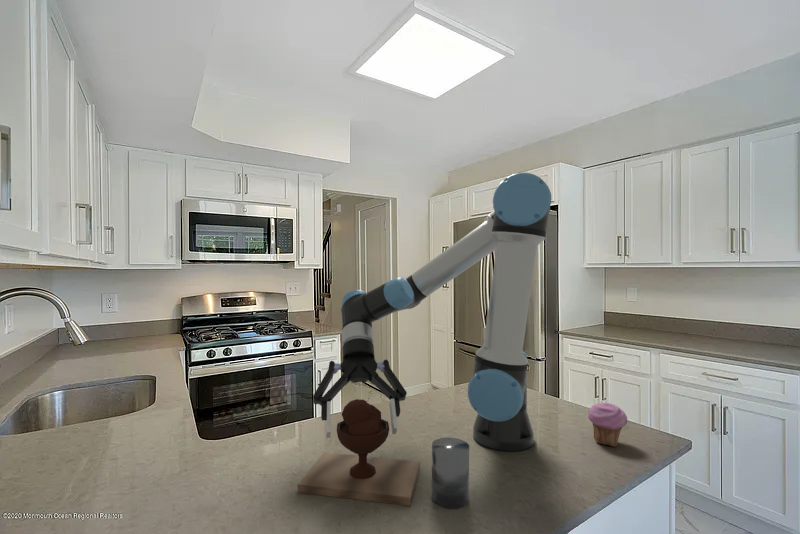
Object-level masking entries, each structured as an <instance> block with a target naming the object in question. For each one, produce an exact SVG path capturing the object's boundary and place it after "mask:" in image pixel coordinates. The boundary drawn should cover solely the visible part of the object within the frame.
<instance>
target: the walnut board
mask: <svg viewBox="0 0 800 534" xmlns="http://www.w3.org/2000/svg"><path fill="white" fill-rule="evenodd" d="M357 463H359V456H358V454H348V453H347V454H345V453H336V452H326V451H324V452H323V453H322V454H321V455H320V456H319V457H318V458H317V460H316V461H315V462H314V464H313V465H312V466H311V467H310V469H309V470H308V471H307V472H306V474H305V475H304V476H303V477H302V478H301V479H300V481H299V482H298V483H297V486H296V487H297V489H296V493H299V494H301V493H302V494H308V495H315V496H316V495H319V496H325V497H332V498H334V497H335V498H344V499H351V500H358V501H359V500H360V501H368V502H378V503H386V504H395V505H400V506H401V505H402V506H409V507H410V506H411V504H412V499H413V496H414V491H415V489H416V485H417V481H418V477H419V474H420V469H421V461H417V460H416V461H415V460H407V459H397V458H386V457H377V456H368V455H367V463H369V464H371V465H373V466H374V467H375V470H376V474H375V475H373V476H372V477H370V478H366V479H358V478H354V477H352V476H351V475H350V468H351V467H353V466H354V465H355V464H357Z"/></svg>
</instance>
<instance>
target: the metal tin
mask: <svg viewBox="0 0 800 534" xmlns="http://www.w3.org/2000/svg"><path fill="white" fill-rule="evenodd" d="M469 480H470V445H469V443H468V442H466V441H465V440H463V439H460V438H456V437H450V436H449V437H447V436H446V437H440V438H436V439H434V440H433V441H432V443H431V486H430V487H431V491H430V493H431V494H430V495H431V501H432V502H433V504H435V505H436V506H439V507H440V508H443V509H449V510H456V509H457V510H458V509H463V508H464V507H466V506H468V504H469V499H470V498H469V497H470V496H469V495H470V493H469V491H470V490H469V485H470V481H469Z"/></svg>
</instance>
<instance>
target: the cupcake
mask: <svg viewBox="0 0 800 534" xmlns="http://www.w3.org/2000/svg"><path fill="white" fill-rule="evenodd" d="M587 411H588V413H587V417H588V420H589V421H590V422H591V423H592V426H593V438H594V439H593V440H594V441H595V442H596V443H598V444H601V445H607V446H609V447H614V448H615V447H617V445H618V441H619V438H620V434H621V431H622V429H623V428H624V427H625V426H627V424H628V416H627V415H626V413H625V411H624V410H623V409H622V408H621V407H619V406H618V405H616V404H614V403H611V402H598V403H595V404H594V405H591V407H589V408H588V410H587Z"/></svg>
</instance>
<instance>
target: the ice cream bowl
mask: <svg viewBox="0 0 800 534" xmlns="http://www.w3.org/2000/svg"><path fill="white" fill-rule="evenodd" d="M341 416H342V421H340V422H338V423H337V425H336V434H337V439H338V441H339V442H340V444H341V445H342V446H343V447H344V448H345V449H347V450H348V451H350V452H352V453H353V454H354V455H358V456H359V463H357V464H355V465H354V466H353V467H351V468H350V475H351V476H352V477H354V478H358V479H366V478H370V477H372V476H373V475H375V474H376V470H375V467H374V466H373V465H371V464H369V463H367V456H368V454H372V453H373V452H375V451H376V450H377V449H378V448H380V447H381V446H383V444H385V442H386V440H387V439H388V436H389V433H390V425H389V421H388V420H385V419H383V418H382V412H381V411H380V410H379V409H378V407H376V406H375V405H373V404H371V403H369V402H368V401H366V400H365V399H357V398H356V399H352V400H349V402H348V403H346V405H345V406H344V407H343V409H342V413H341Z"/></svg>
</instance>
